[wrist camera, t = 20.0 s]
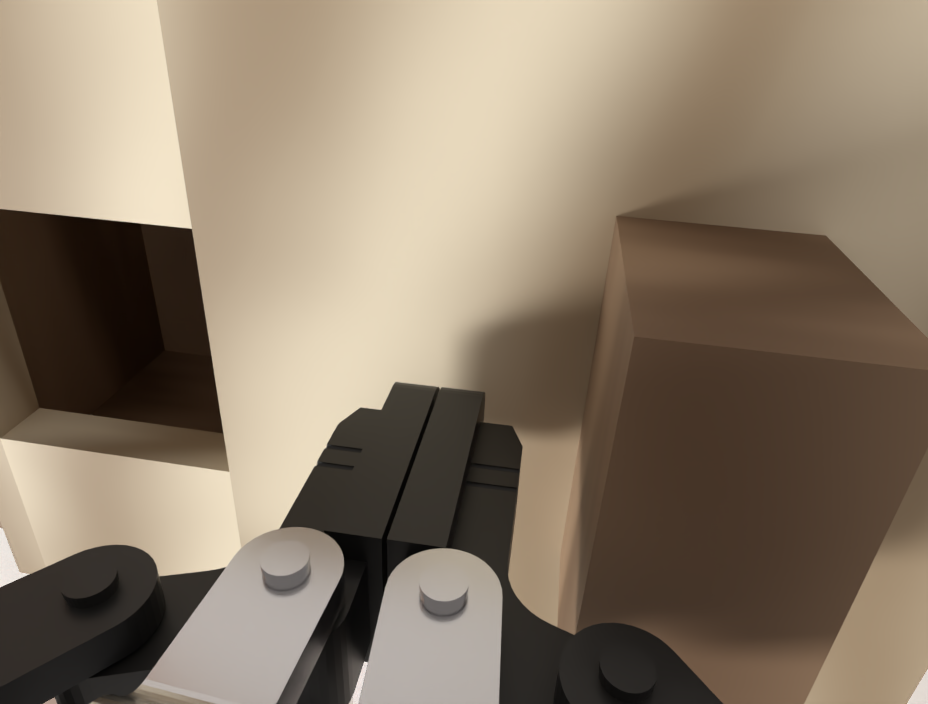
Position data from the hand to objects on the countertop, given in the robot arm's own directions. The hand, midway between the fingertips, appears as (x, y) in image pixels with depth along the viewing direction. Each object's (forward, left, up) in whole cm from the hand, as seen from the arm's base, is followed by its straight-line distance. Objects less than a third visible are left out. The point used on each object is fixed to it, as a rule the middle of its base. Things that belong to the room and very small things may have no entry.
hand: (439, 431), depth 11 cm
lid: (0, 0, -2) cm, 2 cm away
